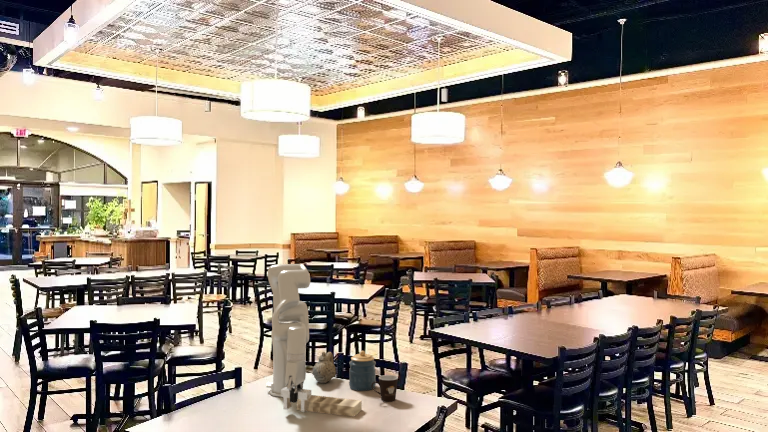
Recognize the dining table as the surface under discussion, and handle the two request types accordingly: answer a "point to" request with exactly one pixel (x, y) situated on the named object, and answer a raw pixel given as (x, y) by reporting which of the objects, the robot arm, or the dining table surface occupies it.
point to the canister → (362, 372)
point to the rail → (333, 405)
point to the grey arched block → (301, 394)
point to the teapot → (324, 368)
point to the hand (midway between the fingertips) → (296, 399)
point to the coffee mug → (387, 387)
